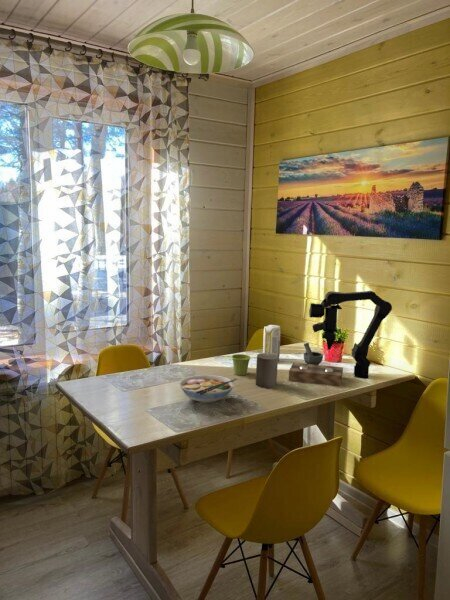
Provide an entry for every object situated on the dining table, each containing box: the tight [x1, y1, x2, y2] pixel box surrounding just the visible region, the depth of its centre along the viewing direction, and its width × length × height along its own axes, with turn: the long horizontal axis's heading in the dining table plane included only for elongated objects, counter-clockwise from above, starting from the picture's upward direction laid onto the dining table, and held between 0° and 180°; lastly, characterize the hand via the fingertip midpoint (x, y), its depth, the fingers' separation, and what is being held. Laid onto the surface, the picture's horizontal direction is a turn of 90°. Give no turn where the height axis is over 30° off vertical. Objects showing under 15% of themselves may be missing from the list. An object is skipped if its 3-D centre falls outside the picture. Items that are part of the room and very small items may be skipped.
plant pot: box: [231, 353, 252, 377], centre depth 246 cm, size 9×9×9 cm
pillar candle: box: [255, 352, 279, 389], centre depth 230 cm, size 10×10×15 cm
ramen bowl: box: [178, 374, 238, 404], centre depth 209 cm, size 25×23×8 cm
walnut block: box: [288, 362, 344, 387], centre depth 241 cm, size 24×14×5 cm, turn 75°
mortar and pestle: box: [303, 342, 324, 365], centre depth 260 cm, size 11×9×12 cm
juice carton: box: [262, 324, 282, 361], centre depth 269 cm, size 8×9×19 cm
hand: (329, 349), depth 246 cm, fingers closed
